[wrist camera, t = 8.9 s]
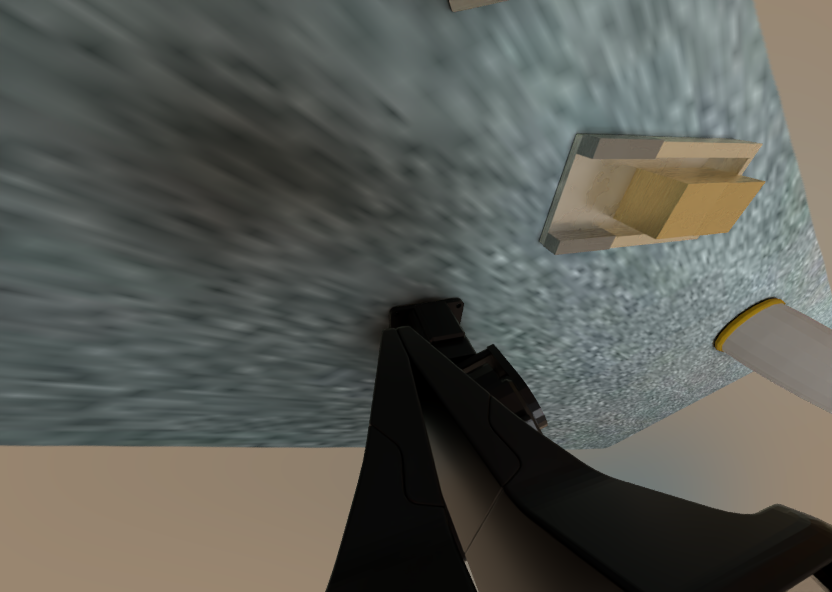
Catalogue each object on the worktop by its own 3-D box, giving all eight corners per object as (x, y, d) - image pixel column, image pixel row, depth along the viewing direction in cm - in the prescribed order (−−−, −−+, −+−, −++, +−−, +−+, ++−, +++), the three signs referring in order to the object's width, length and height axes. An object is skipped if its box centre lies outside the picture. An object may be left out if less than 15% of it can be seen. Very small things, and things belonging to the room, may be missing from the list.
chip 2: (680, 213, 27) (727, 232, 24) (648, 216, 26) (693, 235, 23) (708, 167, 25) (765, 181, 22) (674, 167, 24) (729, 183, 21)
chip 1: (648, 215, 26) (693, 235, 23) (612, 218, 25) (655, 239, 22) (674, 167, 24) (729, 182, 21) (636, 167, 23) (688, 184, 20)
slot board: (538, 242, 25) (554, 254, 23) (576, 132, 20) (600, 138, 18) (675, 230, 29) (696, 239, 28) (733, 137, 24) (763, 142, 23)
